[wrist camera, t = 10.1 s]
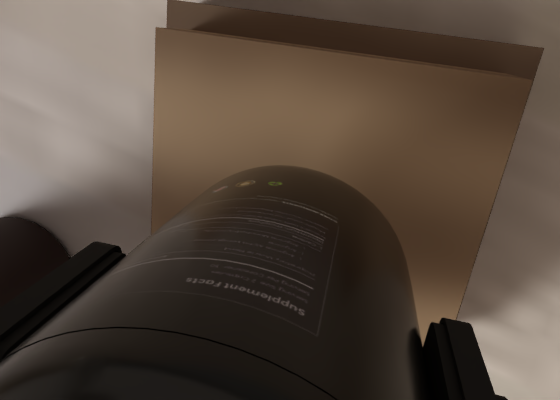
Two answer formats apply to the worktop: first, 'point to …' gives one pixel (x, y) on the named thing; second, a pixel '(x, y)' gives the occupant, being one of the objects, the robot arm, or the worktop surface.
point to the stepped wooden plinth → (344, 123)
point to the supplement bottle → (241, 305)
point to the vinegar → (25, 256)
